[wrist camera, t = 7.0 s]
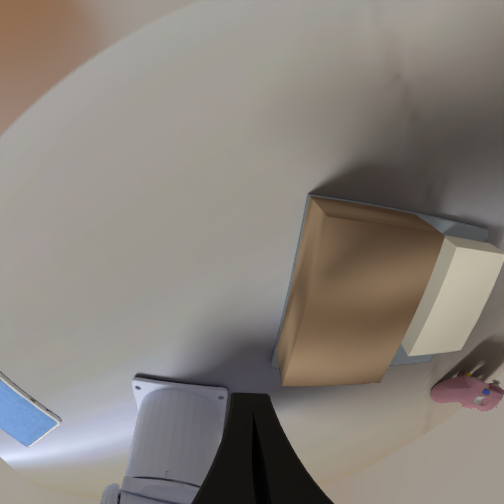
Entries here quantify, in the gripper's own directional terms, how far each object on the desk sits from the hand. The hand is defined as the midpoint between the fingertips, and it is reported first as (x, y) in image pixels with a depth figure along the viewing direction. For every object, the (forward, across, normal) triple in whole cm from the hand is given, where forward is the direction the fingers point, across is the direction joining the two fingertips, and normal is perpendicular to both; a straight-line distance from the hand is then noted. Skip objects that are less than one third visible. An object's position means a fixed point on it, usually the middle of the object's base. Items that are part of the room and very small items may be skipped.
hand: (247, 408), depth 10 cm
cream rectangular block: (+7, -16, 0) cm, 17 cm away
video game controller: (+10, -27, +12) cm, 31 cm away
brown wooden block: (+9, -6, 0) cm, 11 cm away
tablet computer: (+10, +30, +25) cm, 40 cm away
